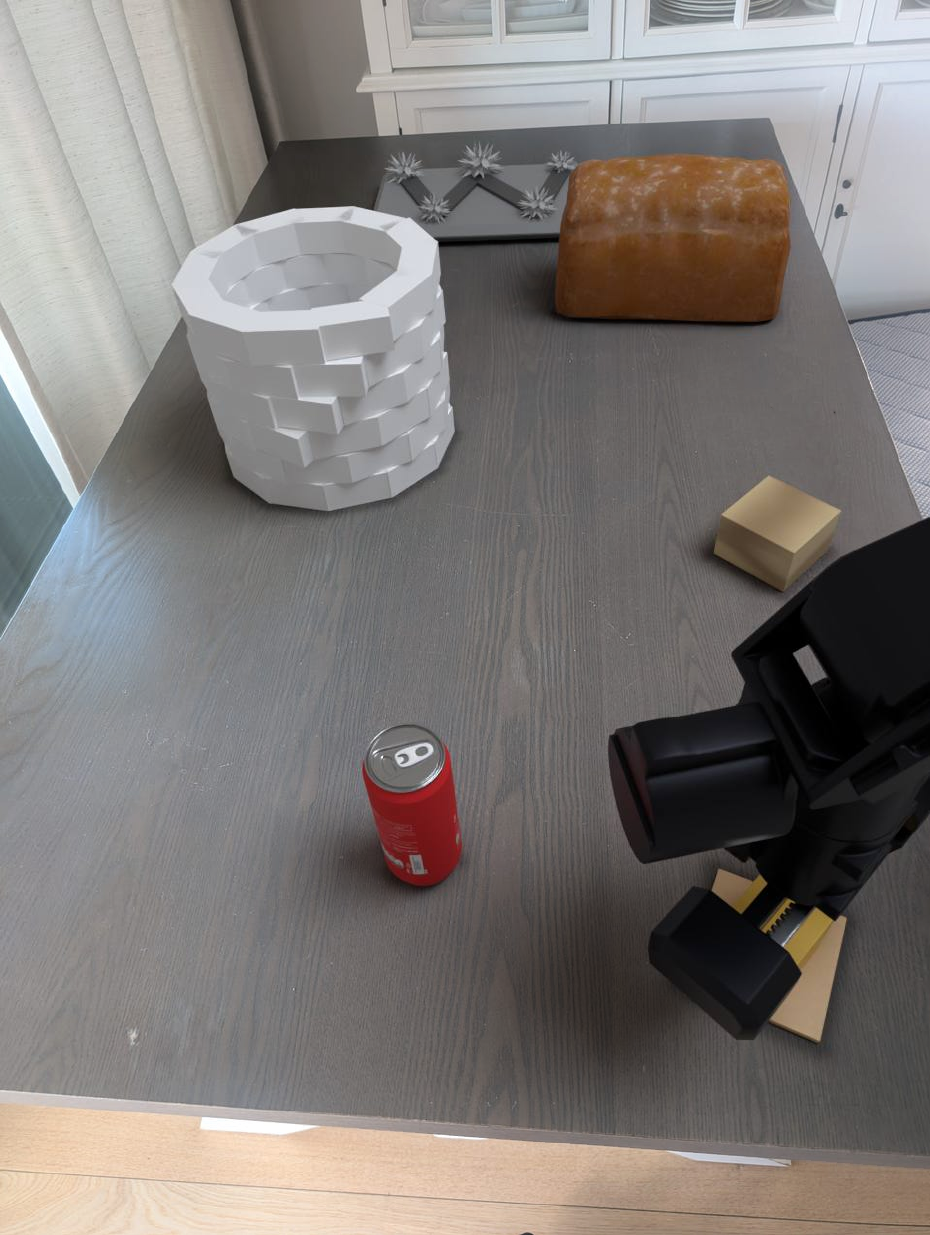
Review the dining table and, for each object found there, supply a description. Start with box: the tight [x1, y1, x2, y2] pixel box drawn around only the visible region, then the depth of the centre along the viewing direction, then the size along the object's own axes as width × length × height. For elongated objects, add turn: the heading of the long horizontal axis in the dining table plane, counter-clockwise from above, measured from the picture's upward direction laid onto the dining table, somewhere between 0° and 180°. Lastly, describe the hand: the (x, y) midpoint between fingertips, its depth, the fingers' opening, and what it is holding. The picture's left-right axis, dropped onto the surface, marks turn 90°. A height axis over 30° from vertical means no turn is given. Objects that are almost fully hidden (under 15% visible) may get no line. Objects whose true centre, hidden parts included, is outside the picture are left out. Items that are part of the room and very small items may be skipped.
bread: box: [554, 153, 792, 323], centre depth 102 cm, size 14×26×16 cm, turn 81°
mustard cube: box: [732, 874, 833, 971], centre depth 53 cm, size 4×4×4 cm
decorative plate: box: [372, 140, 580, 243], centre depth 125 cm, size 30×22×7 cm
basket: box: [170, 205, 456, 512], centre depth 86 cm, size 25×24×19 cm
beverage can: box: [361, 722, 463, 887], centre depth 56 cm, size 5×5×12 cm
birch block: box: [713, 475, 842, 593], centre depth 76 cm, size 7×7×4 cm
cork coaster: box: [711, 868, 848, 1044], centre depth 54 cm, size 8×8×1 cm
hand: (773, 929), depth 52 cm, fingers open, 9 cm apart
